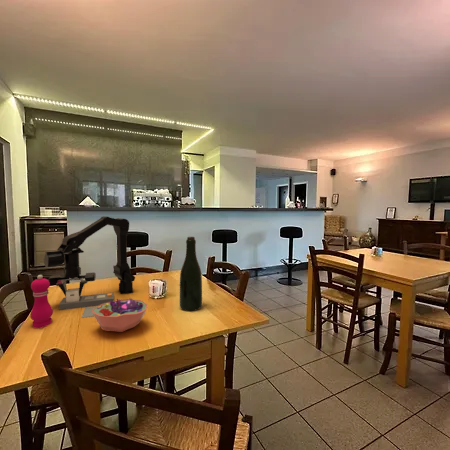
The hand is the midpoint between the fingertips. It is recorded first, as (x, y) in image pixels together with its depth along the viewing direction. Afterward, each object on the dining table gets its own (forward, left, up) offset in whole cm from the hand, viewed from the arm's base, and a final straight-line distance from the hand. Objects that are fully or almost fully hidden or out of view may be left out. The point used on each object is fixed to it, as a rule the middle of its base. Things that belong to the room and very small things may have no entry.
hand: (73, 296), depth 121 cm
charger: (0, 0, -4) cm, 4 cm away
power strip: (-6, 0, -5) cm, 8 cm away
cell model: (-21, +30, -5) cm, 37 cm away
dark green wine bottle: (-51, +19, -5) cm, 55 cm away
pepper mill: (+8, +17, -5) cm, 19 cm away
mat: (-11, +11, -4) cm, 16 cm away
